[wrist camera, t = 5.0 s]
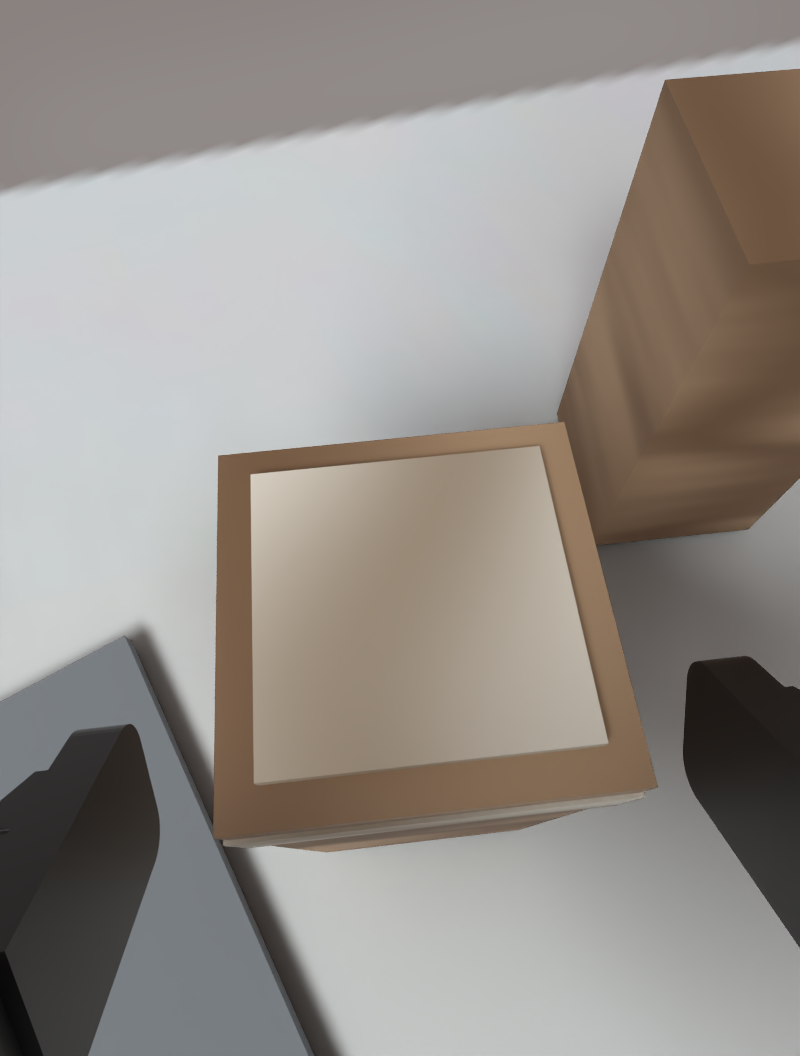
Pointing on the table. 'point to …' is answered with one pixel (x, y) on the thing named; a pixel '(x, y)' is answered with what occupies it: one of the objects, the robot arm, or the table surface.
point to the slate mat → (162, 882)
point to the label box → (414, 644)
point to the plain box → (697, 321)
